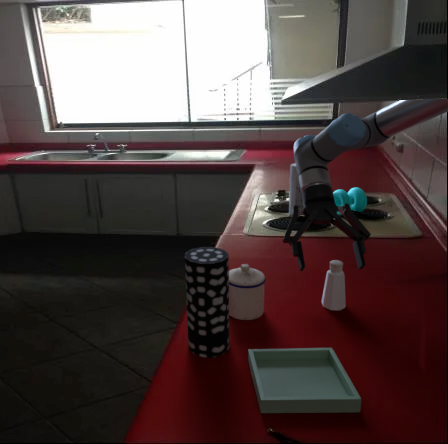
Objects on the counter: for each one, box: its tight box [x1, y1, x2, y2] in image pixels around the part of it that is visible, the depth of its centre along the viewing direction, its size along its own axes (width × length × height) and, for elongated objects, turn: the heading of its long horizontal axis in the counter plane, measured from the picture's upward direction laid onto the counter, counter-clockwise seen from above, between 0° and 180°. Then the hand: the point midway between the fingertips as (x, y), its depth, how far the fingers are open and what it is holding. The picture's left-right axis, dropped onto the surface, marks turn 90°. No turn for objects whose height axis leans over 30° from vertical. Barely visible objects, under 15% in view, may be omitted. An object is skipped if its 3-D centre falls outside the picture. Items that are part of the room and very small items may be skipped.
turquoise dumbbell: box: [333, 187, 368, 216], centre depth 161 cm, size 10×10×10 cm
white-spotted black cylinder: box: [184, 246, 230, 359], centre depth 82 cm, size 8×8×20 cm
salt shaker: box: [320, 259, 347, 311], centre depth 96 cm, size 5×5×11 cm
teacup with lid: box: [229, 263, 266, 321], centre depth 96 cm, size 12×9×12 cm
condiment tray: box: [247, 347, 362, 414], centre depth 73 cm, size 16×14×3 cm
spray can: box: [288, 162, 304, 216], centre depth 161 cm, size 6×6×20 cm
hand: (332, 268), depth 97 cm, fingers open, 13 cm apart
